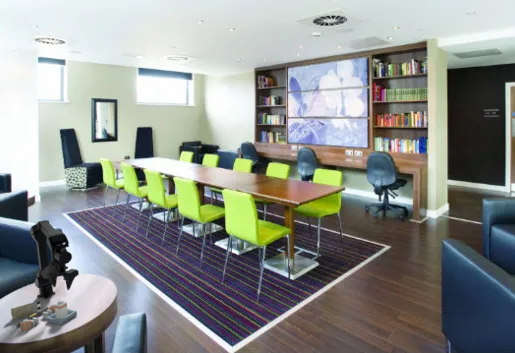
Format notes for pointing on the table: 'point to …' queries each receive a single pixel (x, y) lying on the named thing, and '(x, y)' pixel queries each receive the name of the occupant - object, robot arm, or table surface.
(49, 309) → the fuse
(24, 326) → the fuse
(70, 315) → the tray
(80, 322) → the table surface
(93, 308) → the table surface
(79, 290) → the table surface
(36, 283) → the robot arm
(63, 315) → the marked fuse
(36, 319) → the fuse block
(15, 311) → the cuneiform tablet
